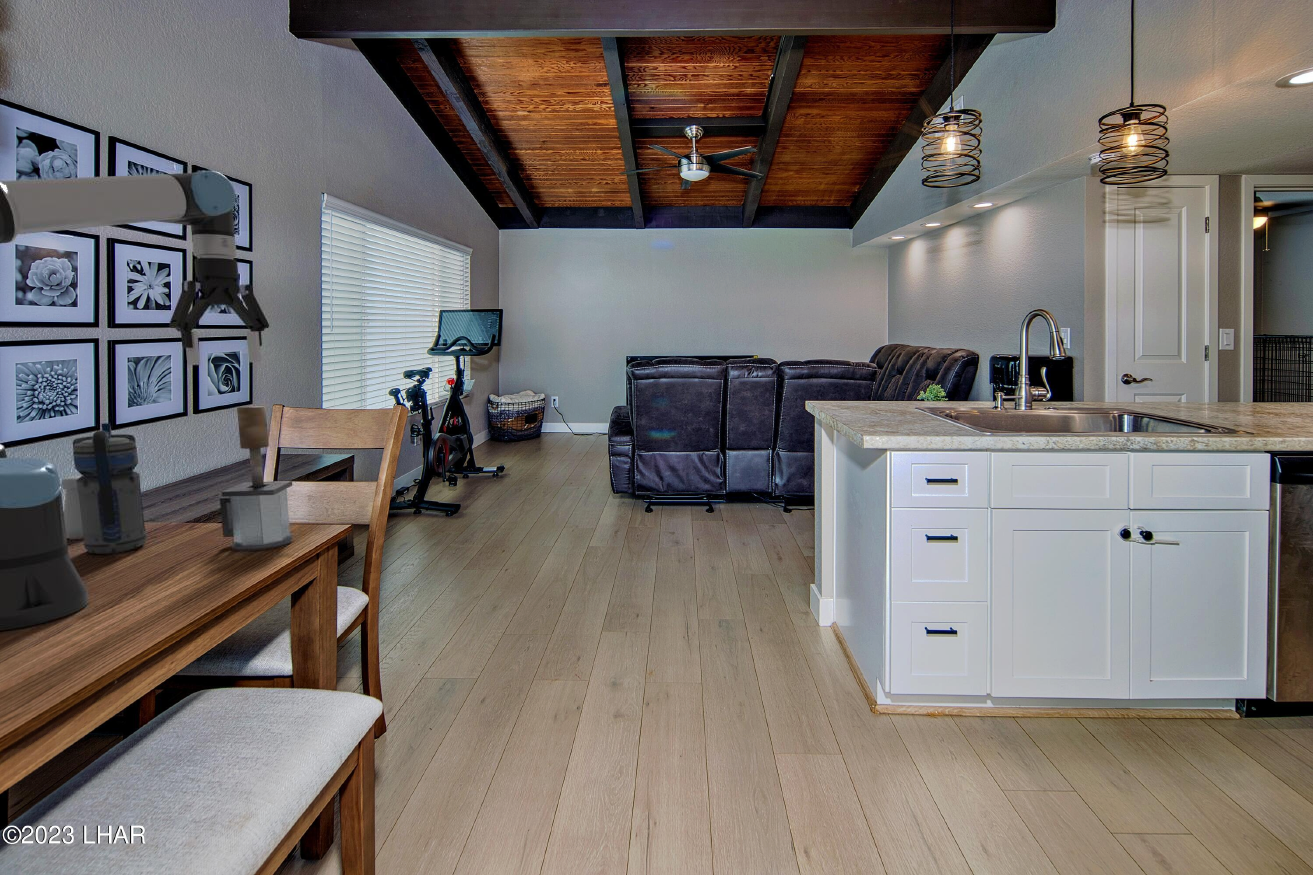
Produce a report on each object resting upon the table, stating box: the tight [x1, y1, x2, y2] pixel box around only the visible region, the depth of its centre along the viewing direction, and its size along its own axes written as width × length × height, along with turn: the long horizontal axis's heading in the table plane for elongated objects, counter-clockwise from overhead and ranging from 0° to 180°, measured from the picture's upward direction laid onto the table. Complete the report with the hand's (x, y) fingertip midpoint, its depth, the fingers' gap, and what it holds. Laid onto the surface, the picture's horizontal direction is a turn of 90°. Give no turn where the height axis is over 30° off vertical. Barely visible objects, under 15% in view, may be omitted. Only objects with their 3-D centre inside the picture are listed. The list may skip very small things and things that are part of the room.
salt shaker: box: [61, 475, 84, 540], centre depth 156 cm, size 6×6×13 cm
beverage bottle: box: [72, 422, 147, 555], centre depth 145 cm, size 10×13×25 cm
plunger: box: [236, 405, 270, 487], centre depth 147 cm, size 5×5×16 cm
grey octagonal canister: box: [219, 480, 294, 552], centre depth 149 cm, size 12×11×12 cm
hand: (225, 363), depth 152 cm, fingers open, 13 cm apart
